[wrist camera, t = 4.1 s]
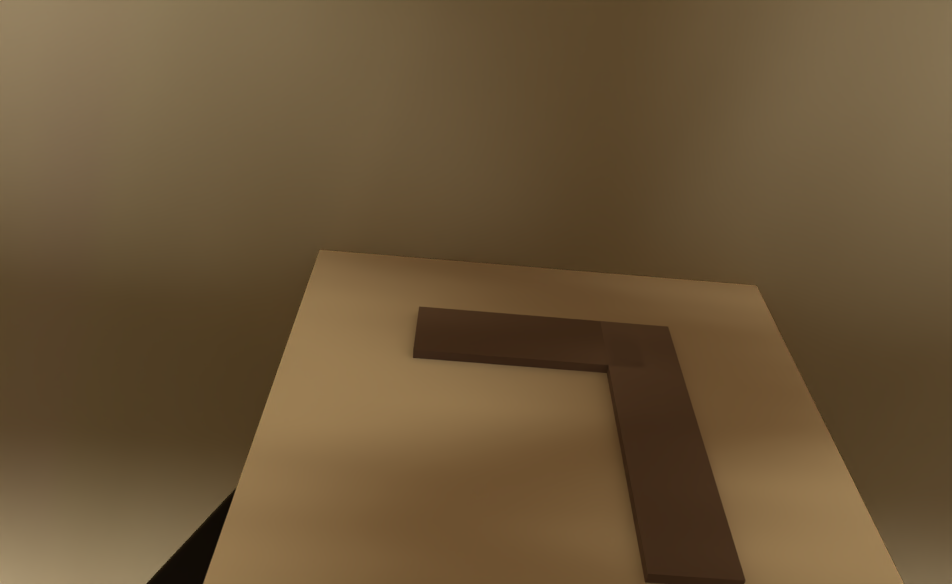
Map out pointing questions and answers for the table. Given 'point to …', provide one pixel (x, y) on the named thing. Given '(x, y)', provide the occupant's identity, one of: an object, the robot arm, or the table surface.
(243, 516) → the letter cube
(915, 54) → the table surface
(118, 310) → the table surface
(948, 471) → the table surface
